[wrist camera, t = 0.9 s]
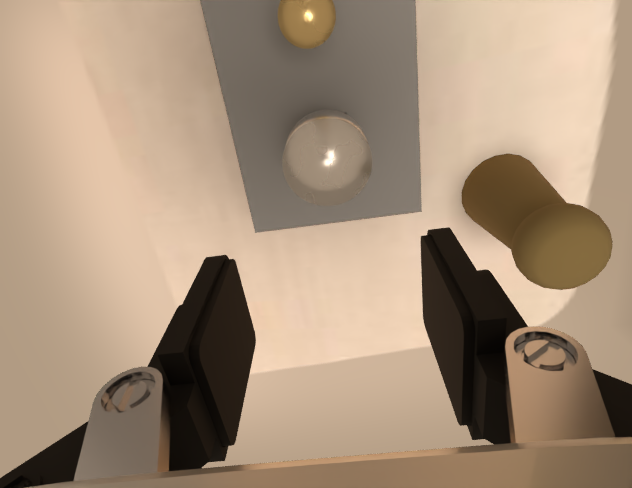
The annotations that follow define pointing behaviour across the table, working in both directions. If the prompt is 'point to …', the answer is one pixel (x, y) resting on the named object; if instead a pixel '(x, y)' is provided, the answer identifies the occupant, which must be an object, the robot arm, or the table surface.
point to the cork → (536, 223)
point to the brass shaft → (306, 21)
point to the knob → (327, 158)
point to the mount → (320, 102)
